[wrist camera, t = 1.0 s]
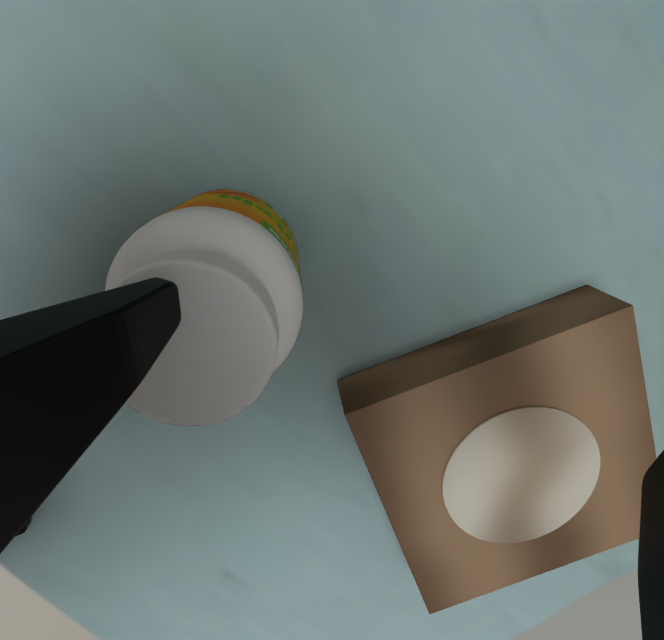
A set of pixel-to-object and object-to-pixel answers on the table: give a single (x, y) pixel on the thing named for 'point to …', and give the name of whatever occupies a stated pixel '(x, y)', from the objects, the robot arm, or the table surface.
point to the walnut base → (509, 444)
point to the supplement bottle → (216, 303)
